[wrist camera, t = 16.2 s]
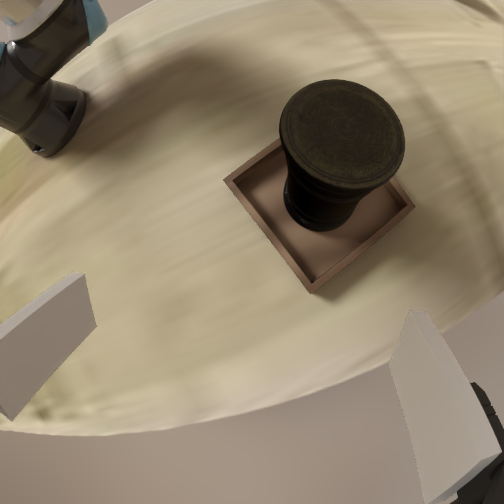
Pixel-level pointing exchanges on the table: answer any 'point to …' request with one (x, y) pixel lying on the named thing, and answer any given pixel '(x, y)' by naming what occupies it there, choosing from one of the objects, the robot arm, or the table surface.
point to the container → (336, 150)
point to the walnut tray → (306, 241)
